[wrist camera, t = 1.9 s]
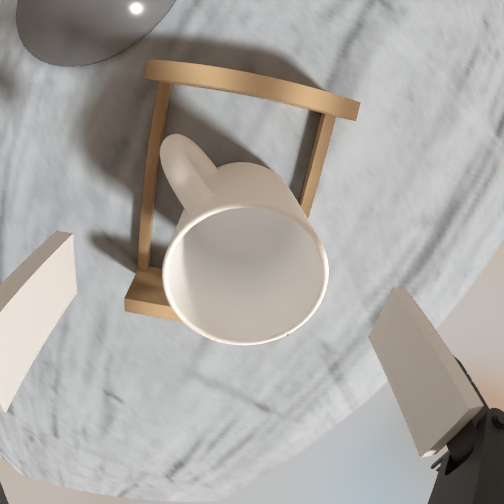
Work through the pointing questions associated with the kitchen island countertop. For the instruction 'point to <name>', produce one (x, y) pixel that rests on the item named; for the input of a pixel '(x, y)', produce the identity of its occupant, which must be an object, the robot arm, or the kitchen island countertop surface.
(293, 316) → the mug
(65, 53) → the coaster
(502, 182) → the kitchen island countertop surface
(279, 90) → the caddy
